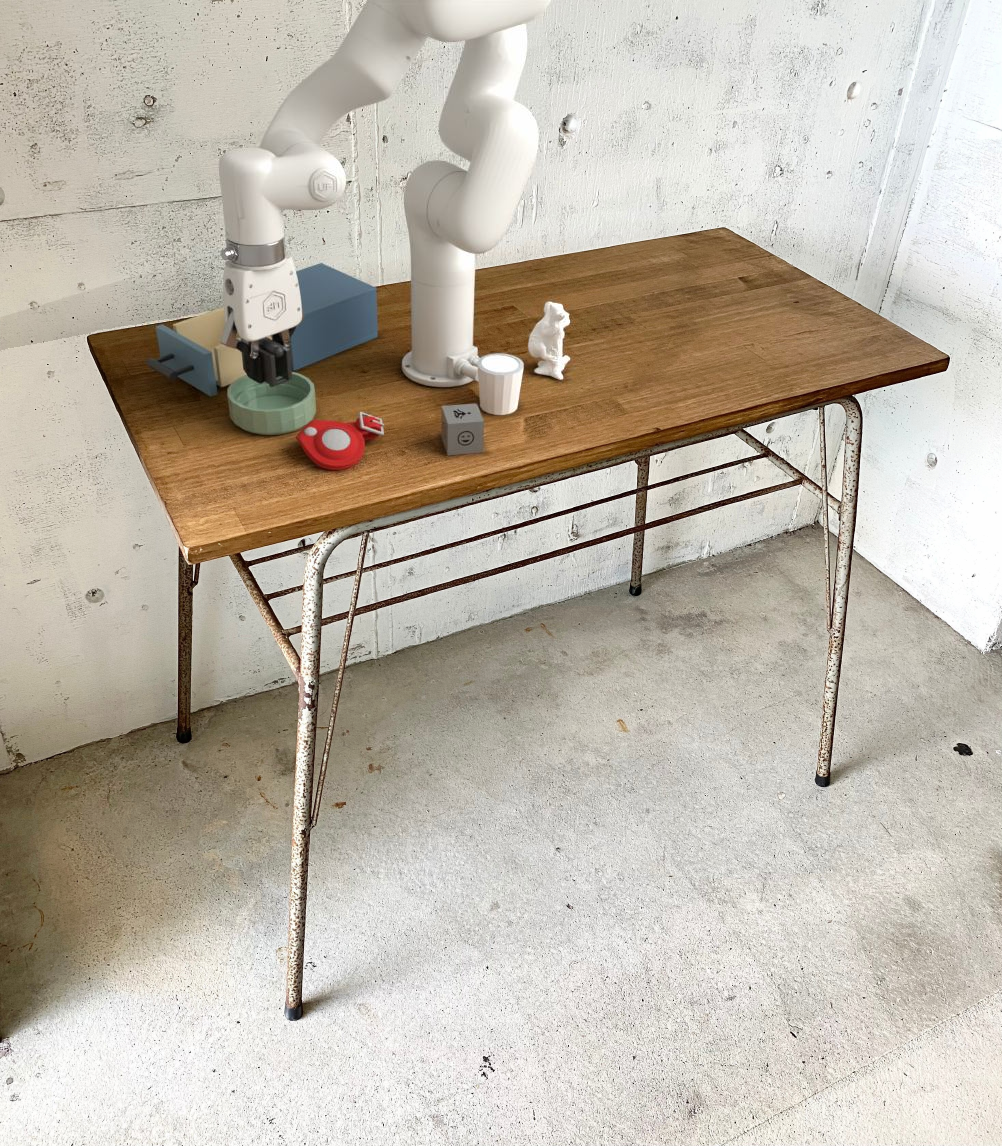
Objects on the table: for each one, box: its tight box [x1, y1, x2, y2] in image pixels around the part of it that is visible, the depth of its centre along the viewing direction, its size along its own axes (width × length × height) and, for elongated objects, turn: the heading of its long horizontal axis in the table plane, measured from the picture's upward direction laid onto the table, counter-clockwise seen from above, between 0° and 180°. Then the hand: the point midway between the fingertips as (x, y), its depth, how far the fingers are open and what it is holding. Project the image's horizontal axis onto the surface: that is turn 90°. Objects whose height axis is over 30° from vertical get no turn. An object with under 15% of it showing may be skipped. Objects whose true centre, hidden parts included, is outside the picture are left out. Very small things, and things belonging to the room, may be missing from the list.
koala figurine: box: [527, 301, 571, 381], centre depth 170 cm, size 8×7×12 cm
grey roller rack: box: [242, 337, 293, 387], centre depth 153 cm, size 7×3×6 cm, turn 48°
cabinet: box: [289, 262, 379, 372], centre depth 176 cm, size 18×14×9 cm
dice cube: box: [440, 403, 485, 456], centre depth 153 cm, size 5×5×5 cm
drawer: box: [145, 306, 289, 397], centre depth 166 cm, size 21×12×7 cm, turn 138°
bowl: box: [226, 371, 317, 436], centre depth 158 cm, size 12×12×4 cm
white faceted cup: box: [477, 352, 525, 416], centre depth 162 cm, size 7×7×7 cm
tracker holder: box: [295, 411, 385, 471], centre depth 152 cm, size 12×4×10 cm
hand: (267, 374), depth 155 cm, fingers closed on grey roller rack, 3 cm apart
